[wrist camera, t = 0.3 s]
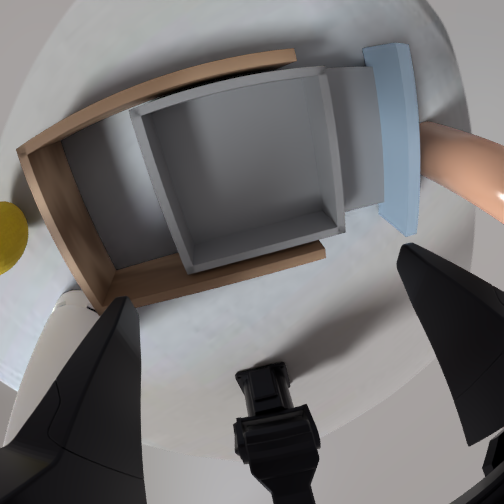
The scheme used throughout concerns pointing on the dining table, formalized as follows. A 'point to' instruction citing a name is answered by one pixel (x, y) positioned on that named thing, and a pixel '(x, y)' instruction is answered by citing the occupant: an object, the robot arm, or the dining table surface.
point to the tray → (283, 156)
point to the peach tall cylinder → (464, 165)
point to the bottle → (51, 354)
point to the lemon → (11, 235)
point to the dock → (82, 228)
